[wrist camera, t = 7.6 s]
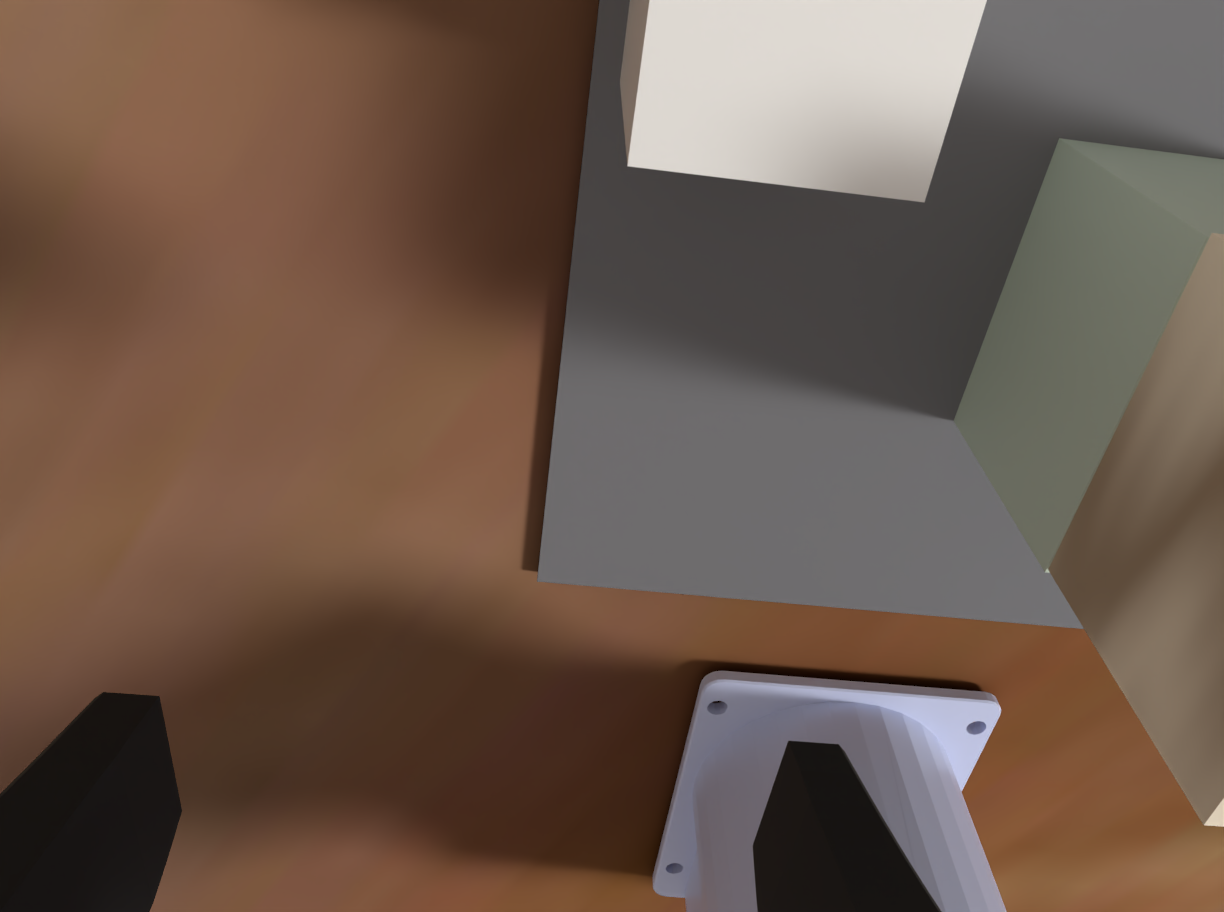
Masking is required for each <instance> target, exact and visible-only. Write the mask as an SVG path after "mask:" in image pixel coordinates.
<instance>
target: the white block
mask: <svg viewBox="0 0 1224 912" xmlns="http://www.w3.org/2000/svg"><path fill="white" fill-rule="evenodd" d="M986 2H987V0H630V3H629V12H628V20H627V28H626V36H625V44H624V52H623V60H622V68H621V76H620V89H621V100H622V111H623V122H624V134H625V145H626V156H627V166H630V167H638V168H646V169H654V170H663V171H671V172H679V173H687V174H696V175H704V176H712V177H720V178H728V179H737V180H745V181H753V182H761V183H769V184H778V185H786V186H794V187H802V188H810V189H819V190H827V191H835V192H843V193H851V194H860V195H868V196H876V197H884V198H892V199H901V200H909V201H917V202H925V199H926V196H927V192H928V189H929V186H930V183H931V179H932V176H933V173H934V170H935V166H936V163H937V160H938V157H939V154H940V150H941V147H942V144H943V141H944V137H945V134H946V131H947V128H948V124H949V121H950V118H951V115H952V111H953V108H954V105H955V102H956V99H957V95H958V92H959V89H960V86H961V82H962V79H963V76H964V73H965V69H966V66H967V63H968V60H969V57H970V53H971V50H972V47H973V44H974V40H975V37H976V34H977V31H978V27H979V24H980V21H981V18H982V14H983V11H984V8H985V5H986Z"/></svg>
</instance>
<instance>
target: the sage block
mask: <svg viewBox="0 0 1224 912" xmlns="http://www.w3.org/2000/svg"><path fill="white" fill-rule="evenodd" d="M1211 233H1218V234H1224V159H1216V158H1209V157H1201V156H1193V155H1185V154H1178V153H1170V152H1162V151H1154V150H1147V149H1139V148H1131V147H1123V146H1116V145H1108V144H1100V143H1092V142H1085V141H1077V140H1069V139H1061V138H1059V140H1058V143H1057V146H1056V148H1055V151H1054V154H1053V156H1052V159H1051V162H1050V164H1049V167H1048V170H1047V172H1046V175H1045V178H1044V180H1043V183H1042V186H1041V188H1040V191H1039V194H1038V196H1037V199H1036V202H1035V204H1034V207H1033V210H1032V212H1031V215H1030V218H1029V220H1028V223H1027V226H1026V229H1025V231H1024V234H1023V237H1022V239H1021V242H1020V245H1019V247H1018V250H1017V253H1016V255H1015V258H1014V261H1013V263H1012V266H1011V269H1010V271H1009V274H1008V277H1007V279H1006V282H1005V285H1004V287H1003V290H1002V293H1001V295H1000V298H999V301H998V303H997V306H996V309H995V311H994V314H993V317H992V319H991V322H990V325H989V328H988V330H987V333H986V336H985V338H984V341H983V344H982V346H981V349H980V352H979V354H978V357H977V360H976V362H975V365H974V368H973V370H972V373H971V376H970V378H969V381H968V384H967V386H966V389H965V392H964V394H963V397H962V400H961V402H960V405H959V408H958V410H957V413H956V416H955V418H954V423H955V424H956V426H957V428H958V429H959V431H960V433H961V434H962V436H963V438H964V439H965V441H966V442H967V444H968V446H969V447H970V449H971V451H972V452H973V454H974V456H975V457H976V459H977V461H978V462H979V464H980V466H981V467H982V469H983V471H984V472H985V474H986V476H987V477H988V479H989V481H990V482H991V484H992V486H993V487H994V489H995V491H996V492H997V494H998V496H999V497H1000V499H1001V501H1002V502H1003V504H1004V506H1005V507H1006V509H1007V511H1008V512H1009V514H1010V515H1011V517H1012V519H1013V520H1014V522H1015V524H1016V525H1017V527H1018V529H1019V530H1020V532H1021V534H1022V535H1023V537H1024V539H1025V540H1026V542H1027V544H1028V545H1029V547H1030V549H1031V550H1032V552H1033V554H1034V555H1035V557H1036V559H1037V560H1038V562H1039V564H1040V565H1041V567H1042V569H1043V570H1044V572H1046V573H1050V572H1049V570H1048V569H1049V567H1050V565H1051V563H1052V561H1053V558H1054V556H1055V554H1056V552H1057V550H1058V548H1059V546H1060V544H1061V542H1062V540H1063V538H1064V536H1065V534H1066V532H1067V530H1068V528H1069V526H1070V523H1071V521H1072V519H1073V517H1074V515H1075V513H1076V511H1077V509H1078V507H1079V505H1080V503H1081V501H1082V499H1083V497H1084V495H1085V493H1086V491H1087V488H1088V486H1089V484H1090V482H1091V480H1092V478H1093V476H1094V474H1095V472H1096V470H1097V468H1098V466H1099V464H1100V462H1101V460H1102V458H1103V456H1104V453H1105V451H1106V449H1107V447H1108V445H1109V443H1110V441H1111V439H1112V437H1113V435H1114V433H1115V431H1116V429H1117V427H1118V425H1119V423H1120V421H1121V418H1122V416H1123V414H1124V412H1125V410H1126V408H1127V406H1128V404H1129V402H1130V400H1131V398H1132V396H1133V394H1134V392H1135V390H1136V388H1137V386H1138V384H1139V381H1140V379H1141V377H1142V375H1143V373H1144V371H1145V369H1146V367H1147V365H1148V363H1149V361H1150V359H1151V357H1152V355H1153V353H1154V351H1155V349H1156V346H1157V344H1158V342H1159V340H1160V338H1161V336H1162V334H1163V332H1164V330H1165V328H1166V326H1167V324H1168V322H1169V320H1170V318H1171V316H1172V314H1173V311H1174V309H1175V307H1176V305H1177V303H1178V301H1179V299H1180V297H1181V295H1182V293H1183V291H1184V289H1185V287H1186V285H1187V283H1188V281H1189V279H1190V276H1191V274H1192V272H1193V270H1194V268H1195V266H1196V264H1197V262H1198V260H1199V258H1200V256H1201V254H1202V252H1203V250H1204V248H1205V246H1206V244H1207V242H1208V239H1209V237H1210V235H1211Z"/></svg>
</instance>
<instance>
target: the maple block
mask: <svg viewBox="0 0 1224 912" xmlns="http://www.w3.org/2000/svg"><path fill="white" fill-rule="evenodd" d="M1048 570H1049V572H1050V574H1051V575H1052V577H1053V579H1054V580H1055V582H1056V584H1057V585H1058V587H1059V589H1060V590H1061V592H1062V593H1063V595H1064V597H1065V598H1066V600H1067V602H1068V603H1069V605H1070V607H1071V608H1072V610H1073V612H1074V613H1075V615H1076V616H1077V618H1078V620H1079V621H1080V623H1081V625H1082V626H1083V628H1084V630H1085V631H1086V633H1087V635H1088V636H1089V638H1090V639H1091V641H1092V643H1093V644H1094V646H1095V648H1096V649H1097V651H1098V653H1099V654H1100V656H1101V657H1102V659H1103V661H1104V662H1105V664H1106V666H1107V667H1108V669H1109V671H1110V672H1111V674H1112V676H1113V677H1114V679H1115V680H1116V682H1117V684H1118V685H1119V687H1120V689H1121V690H1122V692H1123V694H1124V695H1125V697H1126V699H1127V700H1128V702H1129V703H1130V705H1131V707H1132V708H1133V710H1134V712H1135V713H1136V715H1137V717H1138V718H1139V720H1140V721H1141V723H1142V725H1143V726H1144V728H1145V730H1146V731H1147V733H1148V735H1149V736H1150V738H1151V740H1152V741H1153V743H1154V744H1155V746H1156V748H1157V749H1158V751H1159V753H1160V754H1161V756H1162V758H1163V759H1164V761H1165V763H1166V764H1167V766H1168V767H1169V769H1170V771H1171V772H1172V774H1173V776H1174V777H1175V779H1176V781H1177V782H1178V784H1179V786H1180V787H1181V789H1182V790H1183V792H1184V794H1185V795H1186V797H1187V799H1188V800H1189V802H1190V804H1191V805H1192V807H1193V808H1194V810H1195V812H1196V813H1197V815H1198V817H1199V818H1200V820H1201V822H1202V823H1203V825H1209V826H1223V827H1224V234H1218V233H1211V235H1210V237H1209V239H1208V242H1207V244H1206V246H1205V248H1204V250H1203V252H1202V254H1201V256H1200V258H1199V260H1198V262H1197V264H1196V266H1195V268H1194V270H1193V272H1192V274H1191V276H1190V279H1189V281H1188V283H1187V285H1186V287H1185V289H1184V291H1183V293H1182V295H1181V297H1180V299H1179V301H1178V303H1177V305H1176V307H1175V309H1174V311H1173V314H1172V316H1171V318H1170V320H1169V322H1168V324H1167V326H1166V328H1165V330H1164V332H1163V334H1162V336H1161V338H1160V340H1159V342H1158V344H1157V346H1156V349H1155V351H1154V353H1153V355H1152V357H1151V359H1150V361H1149V363H1148V365H1147V367H1146V369H1145V371H1144V373H1143V375H1142V377H1141V379H1140V381H1139V384H1138V386H1137V388H1136V390H1135V392H1134V394H1133V396H1132V398H1131V400H1130V402H1129V404H1128V406H1127V408H1126V410H1125V412H1124V414H1123V416H1122V418H1121V421H1120V423H1119V425H1118V427H1117V429H1116V431H1115V433H1114V435H1113V437H1112V439H1111V441H1110V443H1109V445H1108V447H1107V449H1106V451H1105V453H1104V456H1103V458H1102V460H1101V462H1100V464H1099V466H1098V468H1097V470H1096V472H1095V474H1094V476H1093V478H1092V480H1091V482H1090V484H1089V486H1088V488H1087V491H1086V493H1085V495H1084V497H1083V499H1082V501H1081V503H1080V505H1079V507H1078V509H1077V511H1076V513H1075V515H1074V517H1073V519H1072V521H1071V523H1070V526H1069V528H1068V530H1067V532H1066V534H1065V536H1064V538H1063V540H1062V542H1061V544H1060V546H1059V548H1058V550H1057V552H1056V554H1055V556H1054V558H1053V561H1052V563H1051V565H1050V567H1049V569H1048Z"/></svg>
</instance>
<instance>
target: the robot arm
mask: <svg viewBox="0 0 1224 912" xmlns="http://www.w3.org/2000/svg"><path fill="white" fill-rule="evenodd" d="M713 701H722V702H720V703H712V702H713ZM1000 714H1001V708H1000V705H999V703H998V701H997V699H996V697H995V696H994V695H993V694H991V693H987V692H981V691H969V690H956V689H944V688H931V687H919V686H907V685H894V684H882V683H869V682H857V681H845V680H832V679H820V678H807V677H795V676H782V675H770V674H758V673H745V672H733V671H715V672H712V673H709V674H708V675H706V676H705V677H704V678H703V679H702V681H701V683H700V687H699V691H698V695H697V699H696V703H695V707H694V711H693V716H692V720H691V724H690V728H689V732H688V736H687V740H686V744H685V748H684V752H683V756H682V760H681V764H680V768H679V772H678V776H677V780H676V784H675V788H674V792H673V796H672V800H671V804H670V808H669V812H668V816H667V820H666V824H665V828H664V832H663V836H662V840H661V844H660V848H659V852H658V856H657V860H656V864H655V868H654V872H653V876H652V877H653V889H654V891H655V892H656V893H657V894H659V895H661V896H667V897H682V898H685V901H686V912H1007V911H1006V909H1005V906H1004V903H1003V901H1002V898H1001V895H1000V893H999V890H998V888H997V885H996V882H995V880H994V877H993V874H992V872H991V869H990V866H989V864H988V861H987V858H986V856H985V853H984V851H983V848H982V845H981V843H980V840H979V837H978V835H977V832H976V829H975V827H974V824H973V821H972V819H971V816H970V814H969V811H968V808H967V806H966V803H965V800H964V798H963V795H962V790H963V788H964V786H965V784H966V782H967V780H968V778H969V776H970V774H971V772H972V770H973V768H974V766H975V764H976V762H977V760H978V758H979V756H980V754H981V752H982V750H983V748H984V746H985V744H986V742H987V740H988V738H989V736H990V734H991V732H992V730H993V728H994V726H995V724H996V722H997V720H998V718H999V716H1000ZM975 721H976V722H975ZM972 722H973V723H972ZM181 812H182V809H181V804H180V799H179V794H178V788H177V783H176V778H175V773H174V768H173V763H172V758H171V753H170V748H169V743H168V738H167V733H166V728H165V722H164V717H163V712H162V707H161V702H160V697H159V696H149V695H135V694H121V693H106V692H103V693H102V694H100V695H99V696H97V697H96V698H95V699H94V700H93V701H92V702H91V703H90V704H89V705H88V706H87V707H86V708H85V709H84V710H83V711H82V712H81V713H80V714H79V715H78V716H77V717H76V718H75V719H74V720H73V721H72V722H71V723H70V724H69V725H68V726H67V727H66V728H65V729H64V730H63V731H62V732H61V733H60V734H59V735H58V736H57V737H56V738H55V739H54V740H53V741H52V742H51V744H50V745H49V746H48V747H47V748H46V749H45V750H44V751H43V752H42V753H41V754H40V755H39V756H38V757H37V758H36V759H35V760H34V761H33V762H32V763H31V764H30V765H29V766H28V767H27V768H26V769H25V770H24V771H23V772H22V773H21V774H20V775H19V776H18V777H17V778H16V779H15V780H14V781H13V782H12V783H11V784H10V785H9V786H8V787H7V788H6V789H5V790H4V791H3V792H2V793H1V794H0V912H149V911H150V909H151V906H152V904H153V902H154V898H155V895H156V892H157V889H158V886H159V883H160V880H161V877H162V874H163V871H164V868H165V865H166V862H167V858H168V855H169V852H170V849H171V845H172V842H173V839H174V835H175V832H176V829H177V825H178V822H179V819H180V816H181Z"/></svg>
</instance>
